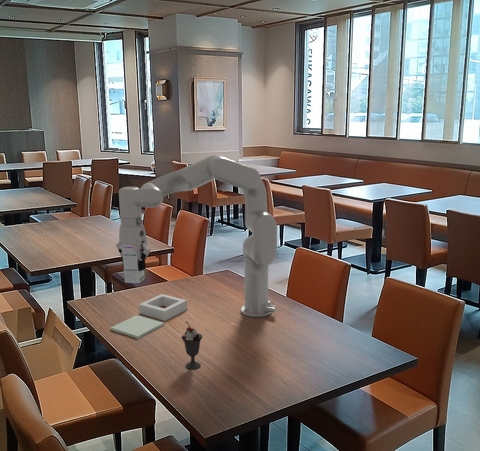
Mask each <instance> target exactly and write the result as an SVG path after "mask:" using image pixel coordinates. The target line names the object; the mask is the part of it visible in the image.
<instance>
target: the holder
mask: <svg viewBox="0 0 480 451" xmlns="http://www.w3.org/2000/svg"><path fill="white" fill-rule="evenodd" d="M138 305H139V306H138V307H139V308H138V310H139V315H143V316H147V317H150V318H152V319H153V318H154V319H158V320H159V321H160V320H161V321H163V322H164V321H165V322H166V321H168V320H170V319H171V318H174V317H175V316H177V315H179V314H181V313H184V312H185V311H187V310H188V300H187V299H183V298H178V297H175V296H171V295H168V294H163V293H161V294H159V295H156V296H154V297H152V298H150V299H147V300H146V301H143V302H141V303H139V304H138ZM162 306H164V307H165V308H163V307H162Z"/></svg>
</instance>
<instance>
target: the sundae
mask: <svg viewBox="0 0 480 451" xmlns="http://www.w3.org/2000/svg"><path fill="white" fill-rule="evenodd" d="M185 323H186V324H187V328H186V330H185V332H184V334H183V335H182V336H181V340H182V341H183V343H184V348H185V352H186V354H187V355H188V356H189V357H190V361H189V362H187V363H186V364H185V368H186V369H187V370H197V369H200V367H201V363H200V362H198V361H196V360H195V358H196V356H198V354H199V352H200V345H201V340H202V338H203V335H202V334H200V333H199V332H197V330H196V329H195V328H192V327H190V323H189V322H188V321H185Z"/></svg>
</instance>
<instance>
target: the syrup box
mask: <svg viewBox="0 0 480 451" xmlns="http://www.w3.org/2000/svg"><path fill="white" fill-rule="evenodd" d="M122 251H123V263H122V265H123V264H124V268H123V273H124V283H127V284H140V283H141V282H142V281H144V279H146V275H145V274H146V273H145V272H146V271H145V270H146V269H145V270H142V271H138V261H139V259H138V256H137V253H134V251H133V249H132V246H131V245H129V244H124V245H122ZM140 255H141V256H142V254H141V253H140Z"/></svg>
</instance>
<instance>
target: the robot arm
mask: <svg viewBox="0 0 480 451" xmlns="http://www.w3.org/2000/svg"><path fill="white" fill-rule="evenodd" d="M215 180H217V181H219V182H222V183H224V184H227V185H230V186H233V187H236V188H239V189H241V190H242V191H243V195H244V213H245V214H244V225H245V228H247V229H248V231H250V233H252V234H251V235H249V236H247V237H246V238H245V239H244V241H243V245H242V257H243V262H244V263H243V264H244V269H243V270H244V305H242V307H241V308H240V312H241V314H243V315H244V316H246V317H251V318H263V317H267V316H270V315H271V314H273V313H274V314H275V313H276V312H277V306H276V305H272V304H271V300H269V265H272V264H273V262H274V261H276V260H275V259H276V257H277V253H278V225H277V221H276V219H275V217H274V216H273V215H272V214H270V212H268V197H267V196H268V194H267V189H266V186H265V183H264V181H263V179H262V178H261V174H260V173H259V171H258V170H257V169H256V168H254V167H251V166H249V165H247V164H244V163H240V162H237V161H234V160H232V159H229V158H227V157H225V156H222V155H218V154H213V155H209V156H207V157H205V158H203V159H200V160H198V161H197V162H195V163H193V164H189V165H187V166H186V167H183V168H180V169H177V170H175V171H172V172H170V173H166V174H164V175H160V176H159V177H157V178H155V179H152V180H150V181H147V182H146V183H143V185H142V186H141V187H140V188H139V187H138V186H124V187H121V188H120V189H119V190H118V201H119V204H118V205H119V215H120V218H119V219H120V225H119V231H118V232H119V234H118V235H119V237H118V238H119V240H118V242H117V243H116V244H115V247H116V248H117V249H118V253H119V254H120V257H121V259H122V268H123V269H124V264H123V251H122V245H124V244H129V245H131V246H132V249H133V251H134V253H137V256H138V259H139V261H138V271H142V270H146V268H147V267H146V260H147V258H148V257H149V254H150V253H151V249H150V248H149V247H148V239H147V232H146V229H145V228H146V227H145V225H144V224H143V222H144V220H143V216H142V208H148V209H149V208H150V209H152V208H157V207H159V206H160V205H161V204H162V203H163V201H164V197H166V196H168V195H171V194H174V193H179V192H189V191H193V190H195V189H197V188H199V187H201V186H204V185H206V184H208V183H210V182H212V181H215ZM140 253H141V254H142V256H141V255H140Z"/></svg>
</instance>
